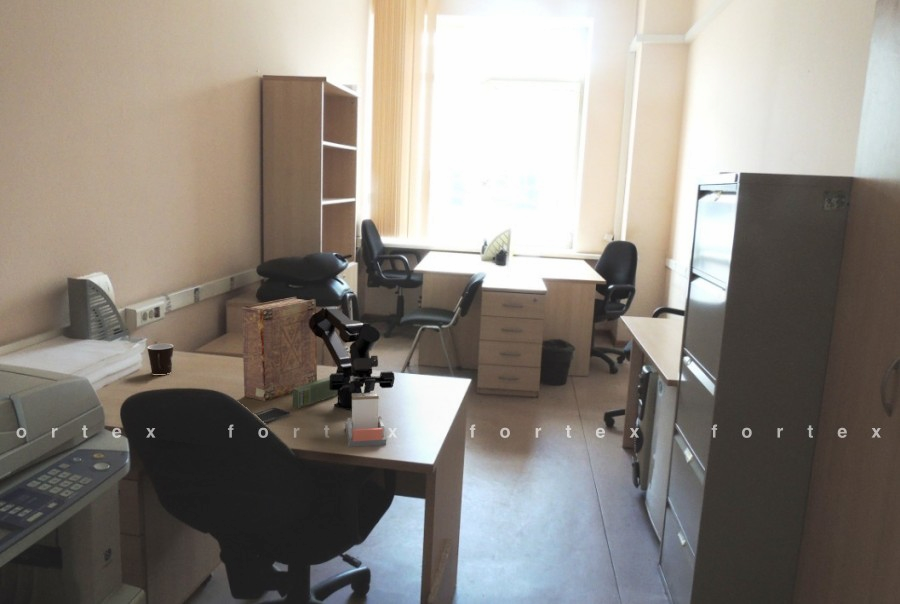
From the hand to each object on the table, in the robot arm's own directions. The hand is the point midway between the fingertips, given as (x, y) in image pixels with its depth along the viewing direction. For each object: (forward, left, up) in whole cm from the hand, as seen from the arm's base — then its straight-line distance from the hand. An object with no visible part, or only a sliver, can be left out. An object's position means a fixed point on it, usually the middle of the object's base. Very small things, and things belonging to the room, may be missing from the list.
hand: (363, 406), depth 182 cm
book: (-46, +12, -7) cm, 48 cm away
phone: (-29, -11, -7) cm, 32 cm away
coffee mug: (-93, -2, -7) cm, 93 cm away
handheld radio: (-28, +14, -7) cm, 32 cm away
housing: (+3, -3, -7) cm, 8 cm away
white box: (+3, -3, -5) cm, 7 cm away
